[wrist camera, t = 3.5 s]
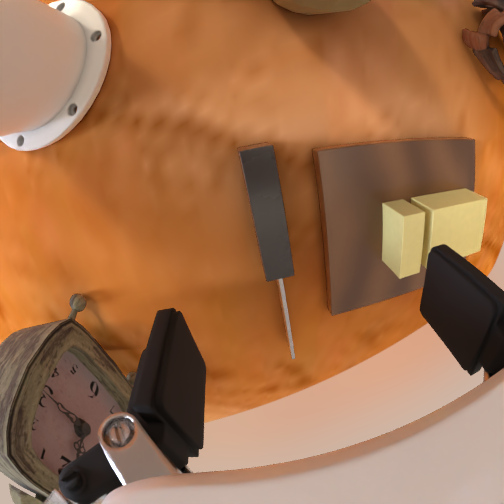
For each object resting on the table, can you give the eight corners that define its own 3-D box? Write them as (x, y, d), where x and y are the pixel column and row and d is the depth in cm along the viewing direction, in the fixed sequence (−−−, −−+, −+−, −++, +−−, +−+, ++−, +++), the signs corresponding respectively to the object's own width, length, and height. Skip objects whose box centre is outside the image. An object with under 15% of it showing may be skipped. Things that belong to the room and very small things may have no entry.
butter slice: (381, 260, 21) (399, 279, 18) (382, 202, 19) (403, 216, 16) (401, 254, 21) (419, 272, 18) (402, 198, 19) (425, 211, 16)
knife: (278, 343, 26) (283, 363, 23) (237, 147, 17) (239, 151, 15) (298, 338, 26) (304, 357, 23) (266, 141, 17) (273, 144, 15)
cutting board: (327, 307, 24) (331, 316, 23) (311, 148, 18) (316, 150, 17) (456, 266, 24) (463, 272, 23) (466, 137, 18) (475, 139, 17)
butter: (408, 252, 21) (427, 270, 18) (410, 197, 19) (433, 209, 16) (460, 237, 21) (480, 250, 18) (465, 187, 19) (487, 198, 16)
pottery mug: (513, 72, 14) (552, 98, 9) (454, 70, 18) (489, 94, 14) (492, -19, 6) (533, -14, 1) (425, -26, 11) (457, -32, 6)
